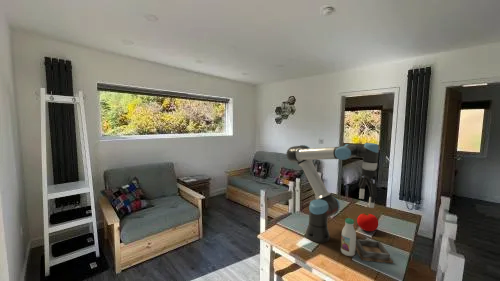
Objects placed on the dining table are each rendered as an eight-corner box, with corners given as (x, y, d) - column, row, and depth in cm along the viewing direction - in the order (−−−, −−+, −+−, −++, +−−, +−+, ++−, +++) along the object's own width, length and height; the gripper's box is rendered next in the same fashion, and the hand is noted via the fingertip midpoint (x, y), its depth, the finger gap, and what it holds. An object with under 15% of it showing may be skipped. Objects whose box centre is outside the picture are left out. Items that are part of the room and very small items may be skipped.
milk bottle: (350, 248, 130) (352, 216, 128) (357, 256, 122) (359, 222, 120) (338, 248, 129) (339, 216, 128) (344, 256, 122) (346, 222, 120)
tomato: (381, 235, 145) (382, 218, 144) (359, 232, 148) (360, 216, 147) (374, 226, 157) (375, 211, 156) (354, 224, 160) (355, 209, 159)
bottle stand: (361, 260, 119) (361, 253, 119) (352, 243, 135) (352, 237, 134) (393, 263, 116) (393, 256, 116) (380, 246, 132) (380, 240, 132)
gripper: (387, 174, 117) (383, 212, 119) (366, 164, 142) (363, 195, 144) (372, 174, 118) (368, 211, 120) (354, 164, 142) (352, 195, 145)
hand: (366, 202), depth 132 cm, fingers open, 13 cm apart
